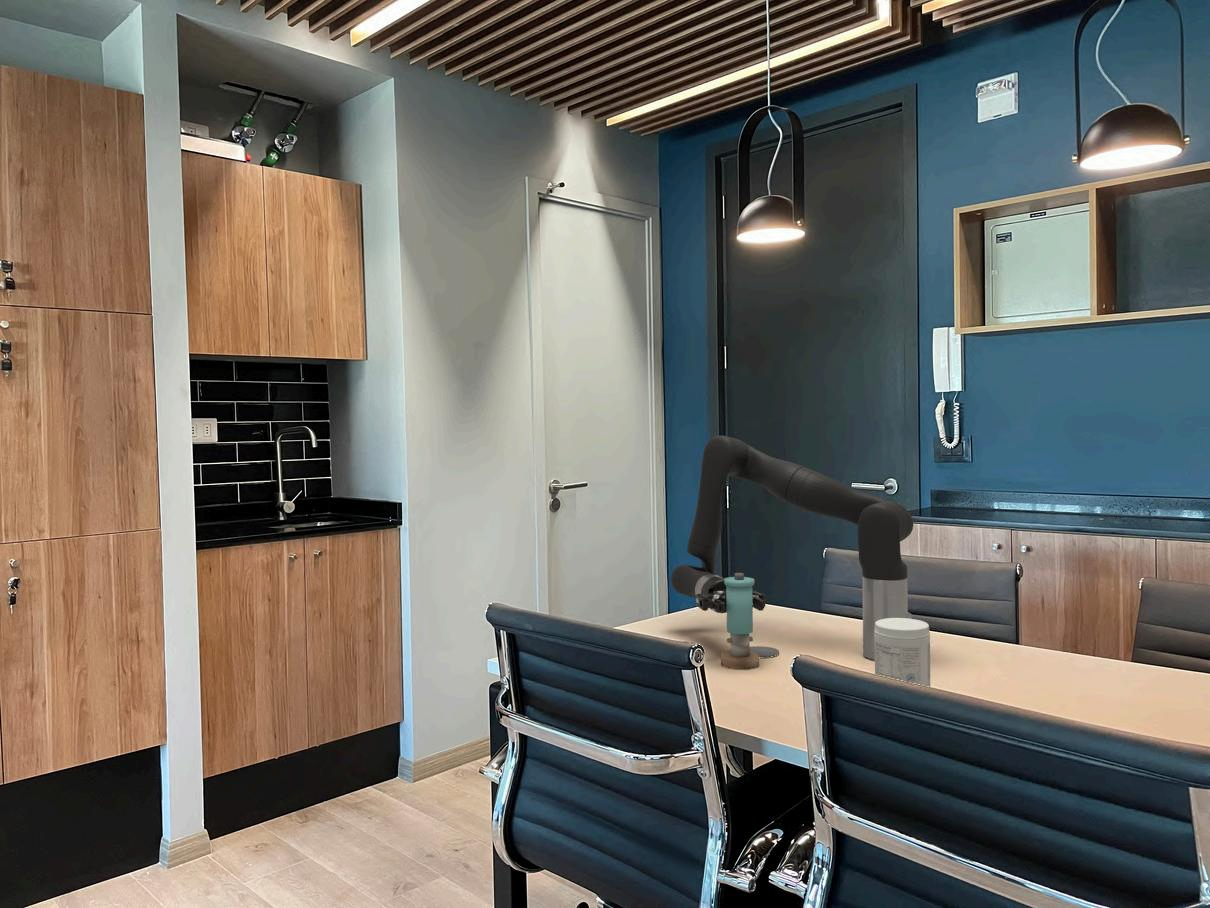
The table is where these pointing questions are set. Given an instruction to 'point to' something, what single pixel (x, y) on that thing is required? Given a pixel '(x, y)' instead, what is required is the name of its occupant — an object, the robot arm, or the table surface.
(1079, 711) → the table surface
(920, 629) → the supplement tub
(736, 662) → the post
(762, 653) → the pad
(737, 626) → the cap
